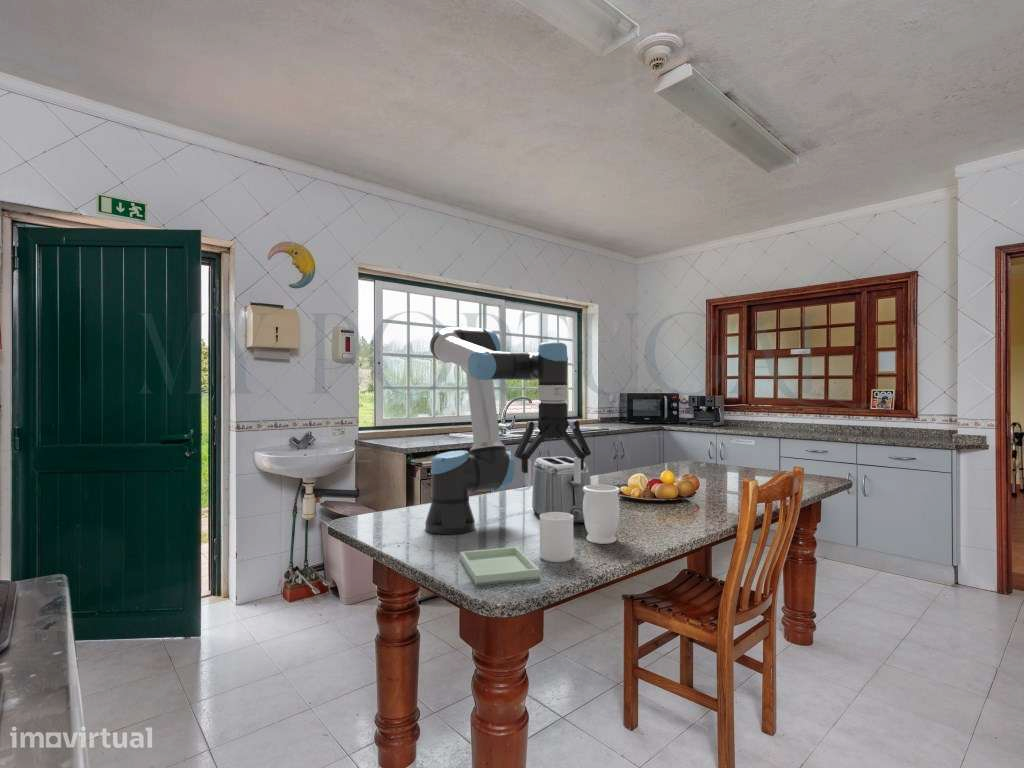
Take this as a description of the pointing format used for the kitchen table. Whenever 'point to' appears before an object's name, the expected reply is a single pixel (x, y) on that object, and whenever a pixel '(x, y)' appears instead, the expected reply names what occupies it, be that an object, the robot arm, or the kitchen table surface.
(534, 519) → the kitchen table surface
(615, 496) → the jar
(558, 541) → the mug
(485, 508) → the kitchen table surface
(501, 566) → the tray
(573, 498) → the toaster
